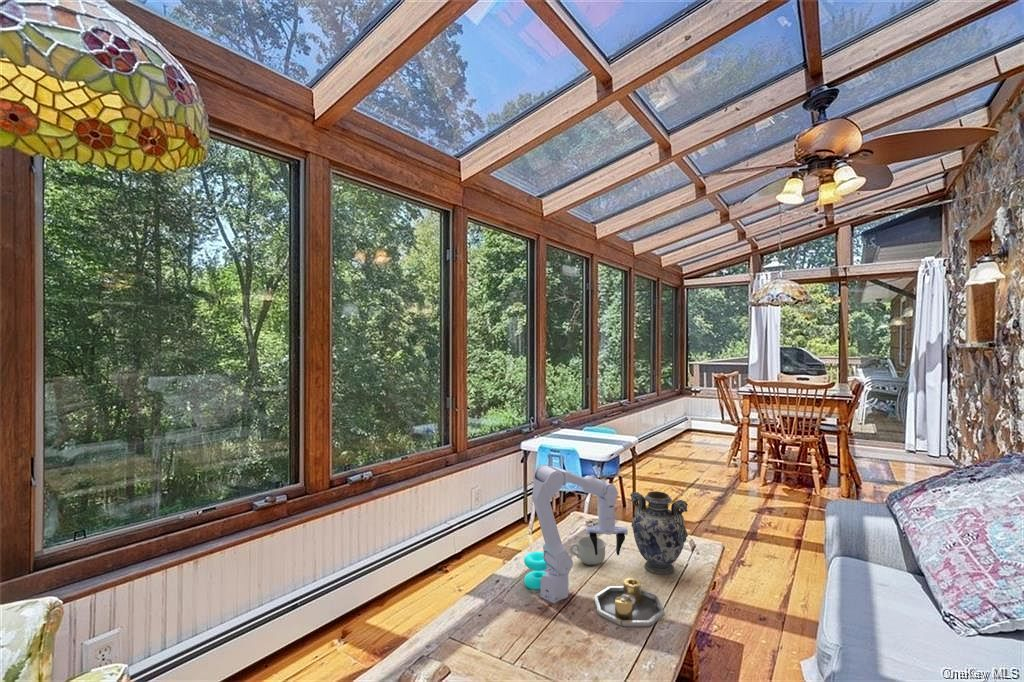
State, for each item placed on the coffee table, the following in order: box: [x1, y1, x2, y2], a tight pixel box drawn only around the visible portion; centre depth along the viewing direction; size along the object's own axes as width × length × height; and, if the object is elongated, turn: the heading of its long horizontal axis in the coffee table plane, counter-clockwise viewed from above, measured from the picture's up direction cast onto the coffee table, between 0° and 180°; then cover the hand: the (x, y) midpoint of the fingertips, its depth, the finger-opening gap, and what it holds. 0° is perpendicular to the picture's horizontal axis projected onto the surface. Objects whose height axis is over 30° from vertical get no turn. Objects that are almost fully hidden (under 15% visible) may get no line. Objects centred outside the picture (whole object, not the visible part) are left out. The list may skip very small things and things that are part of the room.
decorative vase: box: [629, 491, 689, 576], centre depth 178 cm, size 21×19×28 cm
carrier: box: [593, 584, 665, 628], centre depth 151 cm, size 21×21×7 cm
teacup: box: [569, 535, 606, 567], centre depth 184 cm, size 14×11×8 cm
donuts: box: [523, 551, 547, 590], centre depth 167 cm, size 10×10×10 cm
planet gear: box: [623, 577, 642, 602], centre depth 157 cm, size 5×5×5 cm
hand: (606, 553), depth 169 cm, fingers open, 7 cm apart
